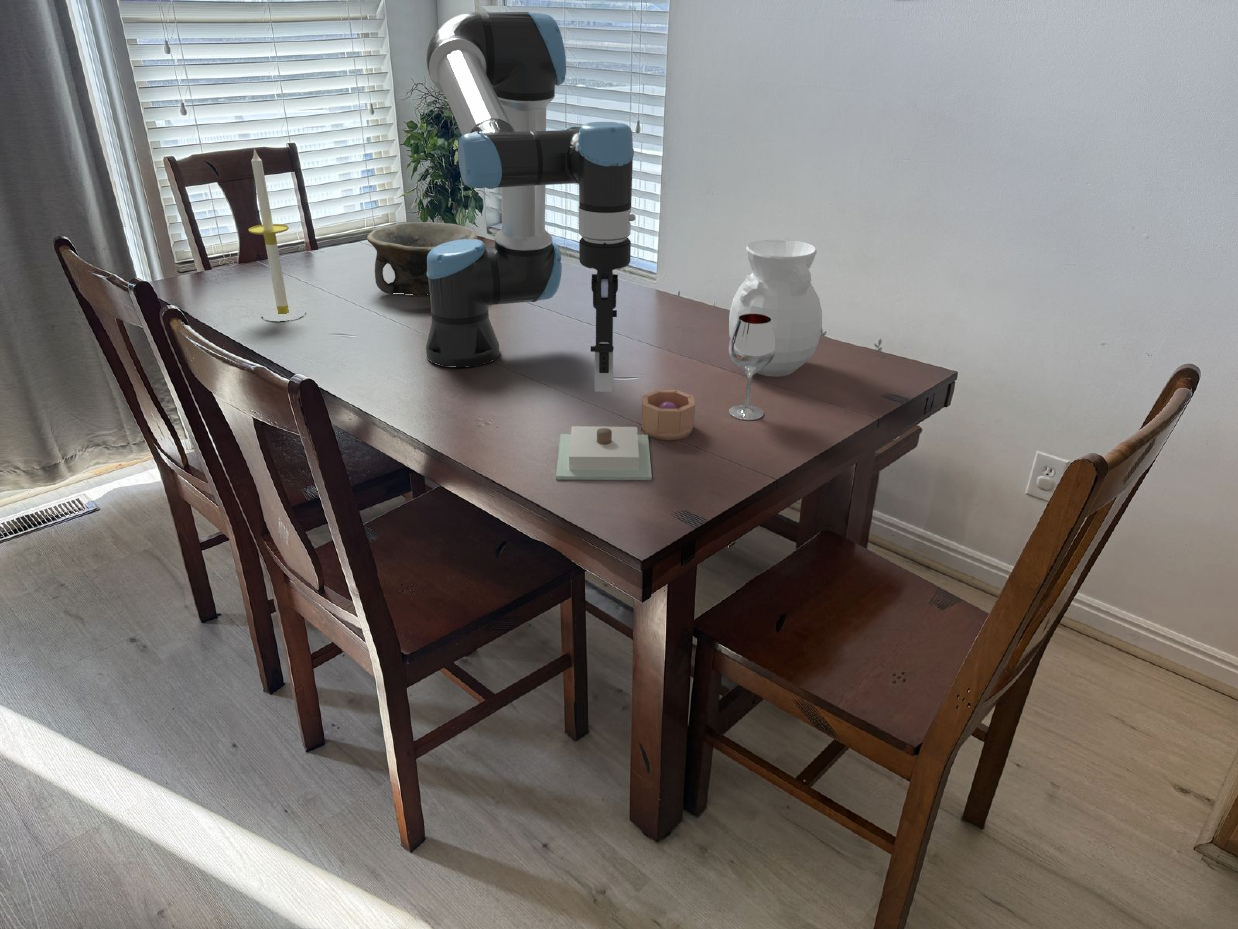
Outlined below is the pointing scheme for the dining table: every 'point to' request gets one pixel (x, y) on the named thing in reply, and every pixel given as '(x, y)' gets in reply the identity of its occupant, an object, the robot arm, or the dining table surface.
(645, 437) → the mat
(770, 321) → the wineglass
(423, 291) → the bowl
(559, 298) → the dining table surface
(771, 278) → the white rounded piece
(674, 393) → the pot
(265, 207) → the candle
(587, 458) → the lid
